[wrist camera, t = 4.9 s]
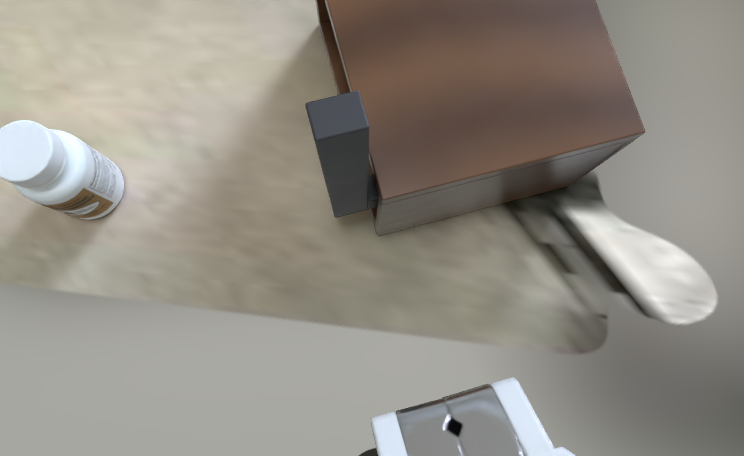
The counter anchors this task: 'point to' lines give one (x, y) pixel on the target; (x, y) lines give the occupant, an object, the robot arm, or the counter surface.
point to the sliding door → (344, 151)
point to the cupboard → (477, 99)
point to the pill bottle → (59, 170)
